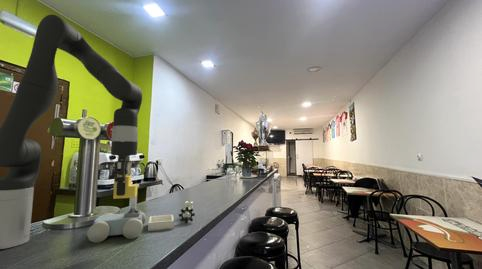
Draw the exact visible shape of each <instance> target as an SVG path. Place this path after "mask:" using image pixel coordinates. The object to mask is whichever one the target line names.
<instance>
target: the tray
mask: <svg viewBox="0 0 482 269" xmlns="http://www.w3.org/2000/svg"><path fill="white" fill-rule="evenodd" d="M174 221H175V220H174V214H164V215H163V214H161V215H153V216H151V215H150V216H149V219H148V225H147V232H155V231H164V230H165V231H166V230H173V229H174V226H175V225H174Z"/></svg>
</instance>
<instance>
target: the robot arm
mask: <svg viewBox="0 0 482 269" xmlns="http://www.w3.org/2000/svg"><path fill="white" fill-rule="evenodd" d="M35 32H36V33H35V34H34V35H35V36H34V39H33V44H32V49H31V52H30V56H29V59H28V61H27V64H26V67H25V69H24V72H23V74H22V77H21V79H20V81H19V83H18V87H17V89H16V91H15V94H14V98H13V100H12V102H11V105H10V107H9V110H8V112H7V114H6V116H5V119H4V121H3V123H2V124H1V126H0V168H8V170H7V171H8V172H7V173H5V175H3V176H1V177H0V250H4V249H9V248H13V247H17V246H20V245H24V244H25V243H27V242H29V241H30V235H31V223H32V213H33V203H34V202H33V201H34V191H35V184H36V181H37V179H38V177H39V173H40V166H41V163H42V162H41V161H42V148H41V145H40V144H39V142H37V141H35V140H33V139H30V138H29V139H27V138H26V137H27V135H28V132H29V131H30V128H31V127H32V125H33V124H34V123H35V122H36V121H37V120H38V119H39V118H41V117H42V116H43V115H44V114H46V113H47V111H48V110H49V109H50V108H52V105H53V103H54V101H55V98H56V96H57V93H58V91H59V78H58V73H57V69H56V62H55V61H56V59H55V58H56V54H57V51H58V49H59V50H60V51H63V52H65V53H66V54H68V55H71V57H74V58H75V59H76V60H78V61H79V62H80V63H81V64H82V65H83V66H84V68H85V69H86V71H88V73H89V74H90V75H91V76H92V77H93V78H95V79H96V80H97V81H98V82H99V83H100V84H101V85H103V87H104V88H105V90H106V91H107V92H108V93H109V94H110V95H111V96H112V97H113V98H115V99H117V100H119V101H121V106H120V108H117V109H115V110H114V112H113V124H112V132H111V142H110V143H111V146H110V155H112V156H118V157H117V161H115V162H114V165H113V166H114V177H115V182H116V183H117V193H116V195H117V196H122V195H124V194H125V182H126V176H129V175H131V173H132V164H133V163H132V160H131V159H130V158H131V156H136V155H137V154H138V142H139V140H138V139H139V133H138V122H139V120H138V116H139V114H140V110H141V106H142V103H143V92H142V90H141V88H140V86H138V85H137V84H136V83H133V82H132V81H130V80H129V79H128V78H126V77H124V75H122V73H121V72H120V70H118V69H117V68H116V67H115V66H114V65H113V64H112V63H110V62H109V61H108V60H107V59H106V58H105V57H103V56H102V55H101V54H99V53H98V52H97V51H95V50H94V49H93V48H92V46H91V44H89V43H88V41H87V40H86V39H85V38H84V37H83V35H82V34H81V33H80V32H79V30H77V29H76V28H75V27H74V26H73V25H71V24H70V23H69V22H68V21H66V20H65V19H63V18H62V17H61V16H58V15H56V14H48V15H45V16H44V17H43V18H42V19H41V20H40V21H39V23H38V26H37V27H36V31H35ZM137 156H138V155H137ZM119 176H122V177H119ZM131 176H132V175H131Z"/></svg>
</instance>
